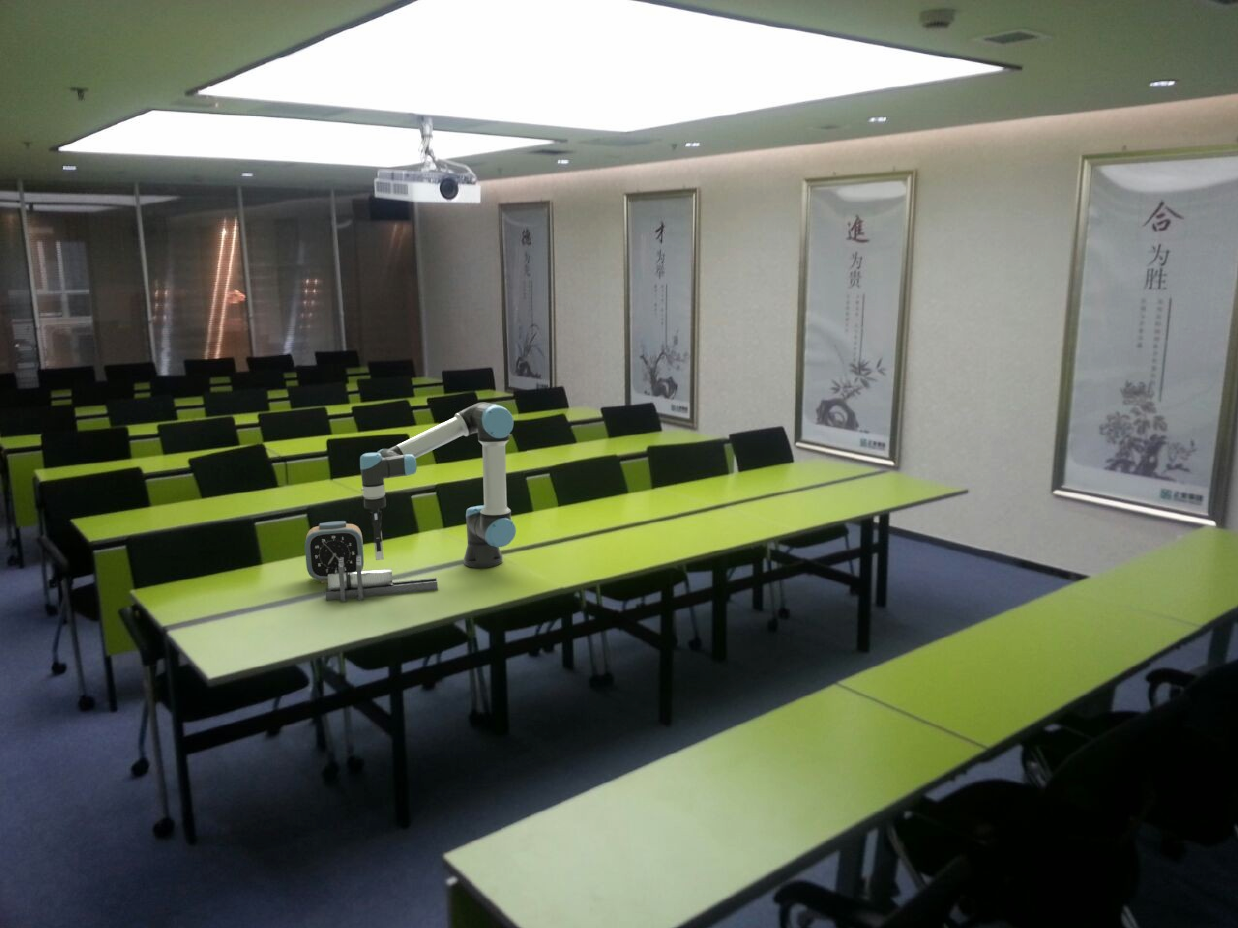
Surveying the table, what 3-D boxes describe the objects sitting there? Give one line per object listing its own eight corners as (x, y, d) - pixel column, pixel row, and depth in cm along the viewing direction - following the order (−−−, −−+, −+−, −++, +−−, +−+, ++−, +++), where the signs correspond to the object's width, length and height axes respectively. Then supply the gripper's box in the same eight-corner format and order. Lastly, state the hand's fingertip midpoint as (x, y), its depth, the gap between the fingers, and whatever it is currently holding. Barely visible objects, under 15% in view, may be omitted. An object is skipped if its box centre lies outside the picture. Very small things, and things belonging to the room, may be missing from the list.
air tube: (392, 582, 341) (391, 566, 340) (392, 587, 335) (391, 571, 334) (329, 588, 335) (328, 571, 334) (328, 593, 330) (327, 576, 328)
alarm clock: (307, 585, 348) (303, 529, 344) (309, 577, 357) (304, 522, 353) (364, 579, 353) (360, 524, 349) (364, 572, 362) (360, 518, 358)
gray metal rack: (436, 582, 348) (434, 548, 346) (438, 592, 337) (436, 558, 334) (326, 593, 339) (324, 558, 336) (325, 604, 327) (322, 568, 324)
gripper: (363, 490, 341) (368, 545, 346) (363, 505, 318) (368, 565, 322) (384, 488, 343) (389, 543, 348) (385, 503, 320) (391, 562, 324)
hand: (379, 554), depth 335 cm, fingers open, 13 cm apart
